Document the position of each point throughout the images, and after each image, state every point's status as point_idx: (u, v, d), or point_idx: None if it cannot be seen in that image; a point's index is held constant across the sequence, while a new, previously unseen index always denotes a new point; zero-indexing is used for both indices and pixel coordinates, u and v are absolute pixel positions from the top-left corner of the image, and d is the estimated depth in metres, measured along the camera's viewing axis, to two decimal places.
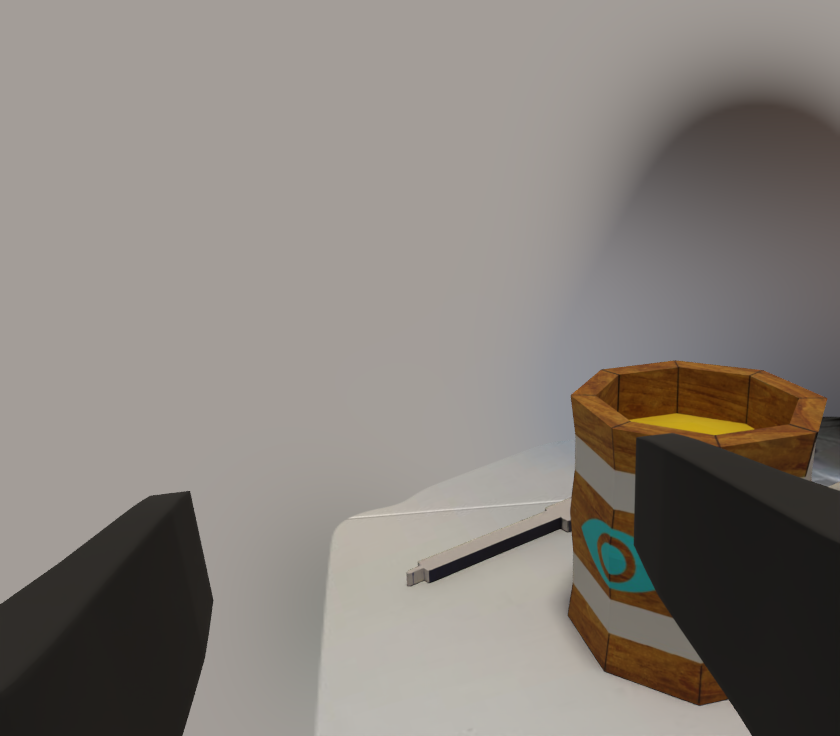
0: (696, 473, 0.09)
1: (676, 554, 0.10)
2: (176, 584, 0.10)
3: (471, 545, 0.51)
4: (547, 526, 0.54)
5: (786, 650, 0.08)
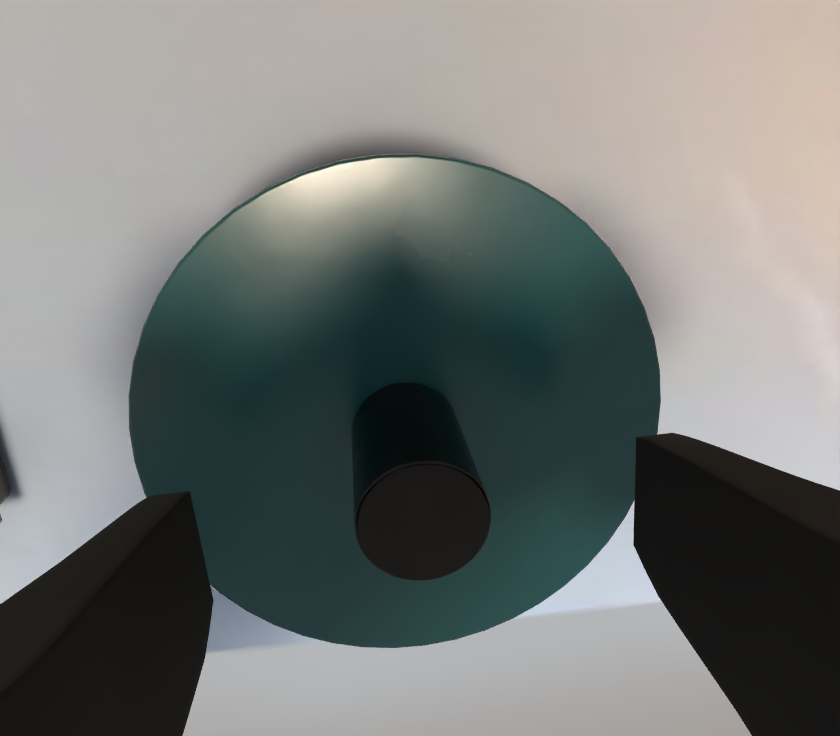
0: (696, 473, 0.09)
1: (676, 554, 0.10)
2: (175, 584, 0.10)
3: None
4: None
5: (787, 650, 0.08)
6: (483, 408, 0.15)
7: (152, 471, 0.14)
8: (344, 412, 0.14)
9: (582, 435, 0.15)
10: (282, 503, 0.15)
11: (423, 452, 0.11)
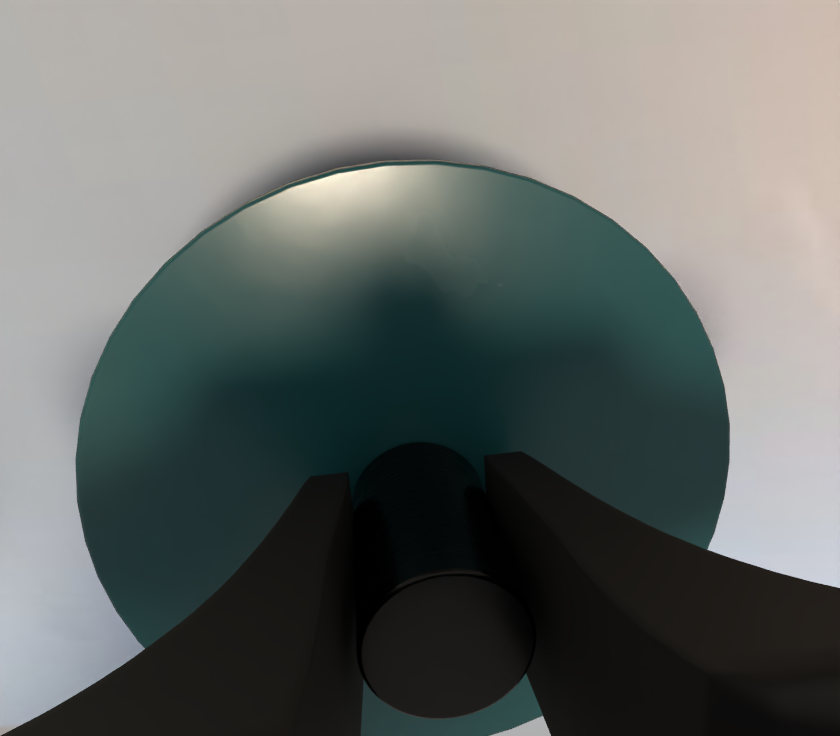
0: (515, 496, 0.09)
1: None
2: (351, 562, 0.10)
3: None
4: None
5: (572, 681, 0.08)
6: None
7: (107, 551, 0.12)
8: None
9: (634, 502, 0.12)
10: None
11: (447, 556, 0.08)
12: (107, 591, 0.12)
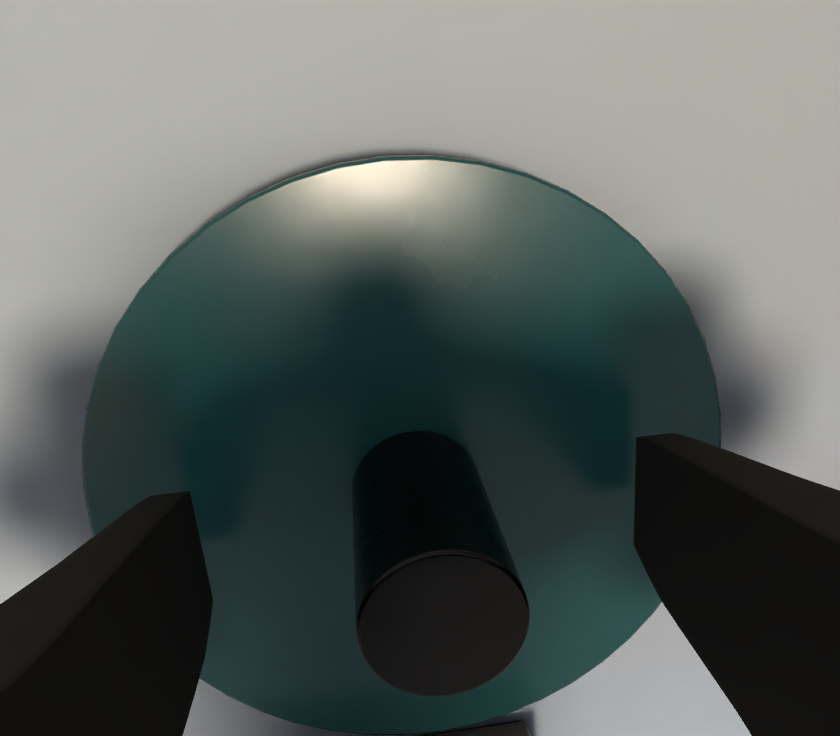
0: (696, 473, 0.09)
1: (676, 553, 0.10)
2: (175, 585, 0.10)
3: None
4: None
5: (787, 649, 0.08)
6: (510, 460, 0.12)
7: None
8: (342, 466, 0.12)
9: (627, 490, 0.13)
10: (269, 572, 0.12)
11: (443, 537, 0.09)
12: None
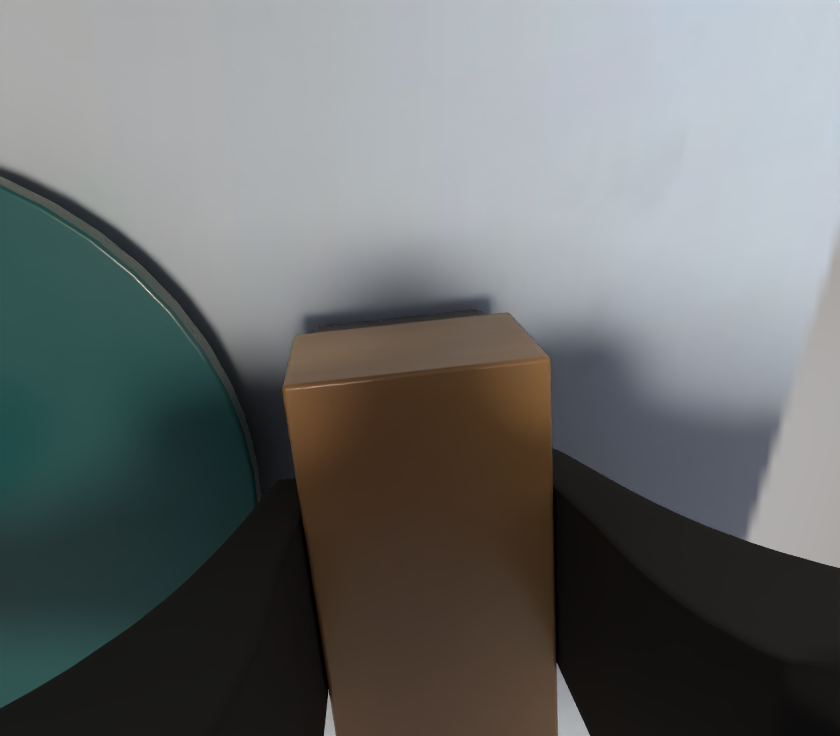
0: None
1: None
2: None
3: None
4: None
5: (615, 674, 0.08)
6: None
7: None
8: None
9: None
10: (25, 650, 0.12)
11: None
12: None
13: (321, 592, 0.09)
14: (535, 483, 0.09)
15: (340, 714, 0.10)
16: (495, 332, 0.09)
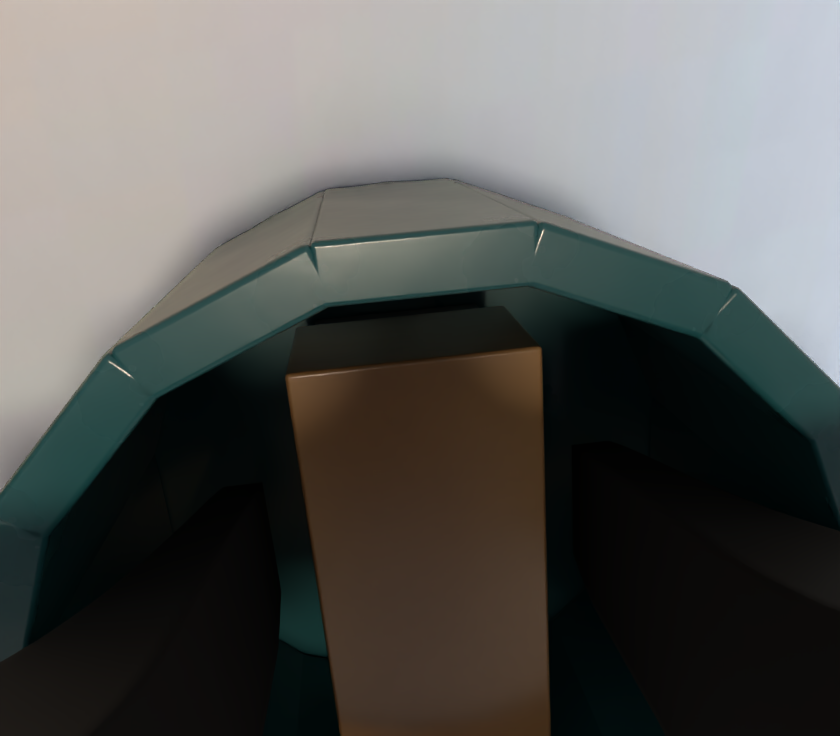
0: (619, 483, 0.09)
1: (605, 563, 0.10)
2: (256, 574, 0.10)
3: None
4: None
5: (697, 663, 0.08)
6: None
7: None
8: None
9: None
10: None
11: None
12: None
13: (322, 573, 0.09)
14: (528, 468, 0.09)
15: (340, 692, 0.10)
16: (490, 324, 0.10)
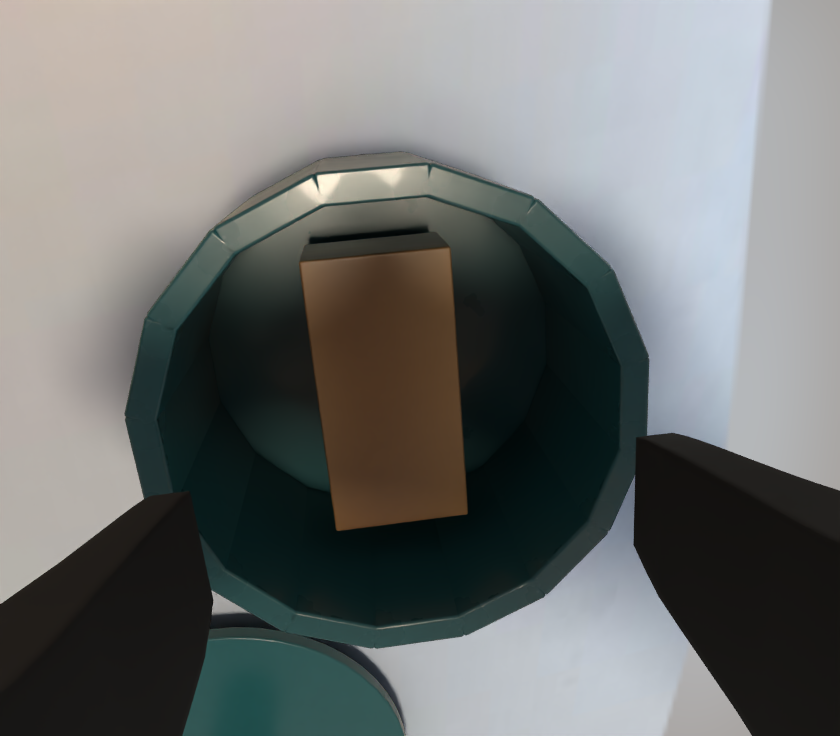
0: (696, 473, 0.09)
1: (676, 554, 0.10)
2: (176, 584, 0.10)
3: None
4: None
5: (787, 649, 0.08)
6: None
7: None
8: None
9: (235, 683, 0.21)
10: None
11: None
12: None
13: (321, 388, 0.15)
14: (445, 323, 0.15)
15: (332, 471, 0.16)
16: (424, 239, 0.16)
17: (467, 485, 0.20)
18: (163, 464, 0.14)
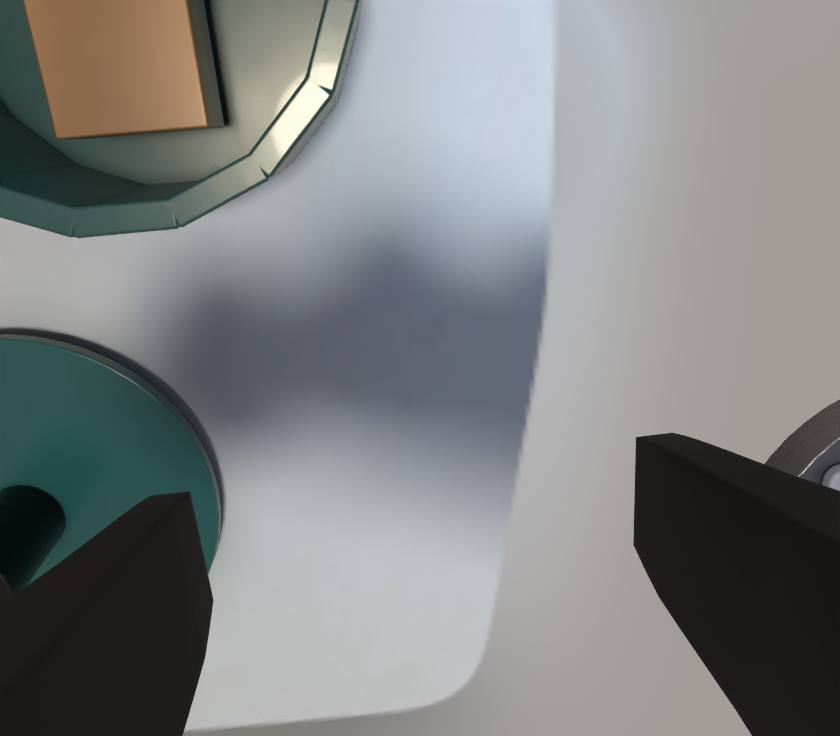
0: (696, 473, 0.09)
1: (676, 553, 0.10)
2: (175, 585, 0.10)
3: None
4: None
5: (787, 649, 0.08)
6: None
7: None
8: None
9: (11, 397, 0.19)
10: None
11: None
12: None
13: None
14: None
15: (41, 56, 0.14)
16: None
17: None
18: None
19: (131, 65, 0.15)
